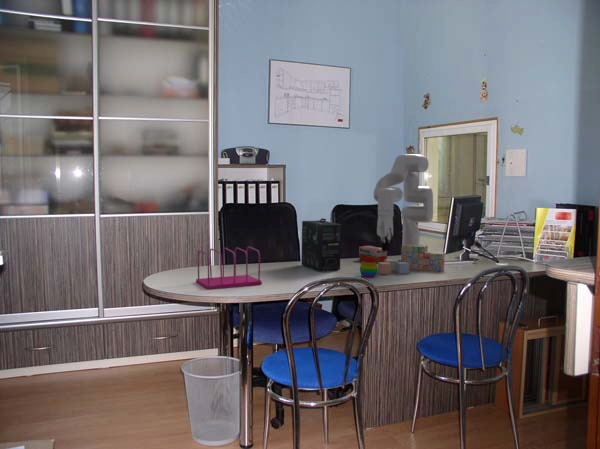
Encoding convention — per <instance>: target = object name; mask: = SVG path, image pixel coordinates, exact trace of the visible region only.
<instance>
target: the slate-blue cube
mask: <svg viewBox="0 0 600 449" xmlns="http://www.w3.org/2000/svg"><path fill="white" fill-rule="evenodd" d="M395 272H396V273H399V274H398V275H409V274H408V273H410V268H409V263H407V262H401V261H398V262H396V268H395Z"/></svg>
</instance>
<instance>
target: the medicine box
mask: <svg viewBox="0 0 600 449" xmlns="http://www.w3.org/2000/svg"><path fill="white" fill-rule="evenodd" d="M358 252H359V253H358V259H359V261H361V262H362V261H363V260H364V259H365V258H366V257H372V258H373V259H374V260H375V262H376V264H378V262H385V260H386V259H388V251H382V247H378V246H377V247H376V246H373V245H363V246H359V250H358Z"/></svg>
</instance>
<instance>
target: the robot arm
mask: <svg viewBox="0 0 600 449" xmlns="http://www.w3.org/2000/svg"><path fill="white" fill-rule="evenodd" d="M429 164H430V163H429V159H428V157H427V156H424V155H422V154H415V153H414V154H413V153H411V154H410V153H409V154H408V153H406V154H399V155H398V156H396V157H395V159H394V162H393V165H392V167H391V170H390V172H388V173H386V174H385V175H384V176H382V177H381V178H379V179H378V180H377V182H376V185H375V187H374V190H373V199H374V201H376V202H377V223H376V224H377V226H376V235H377V236H378V237H379V238H380V240H381V248H382V251H387V252H388V251H389V250H390V242H391V240H392V237H393V236H394V218H393V217H394V213H395V212H394V206H395V205H394V203H398V202H400V201H402V199H404V201H405V203H408V204H409V205H405V206H403V207H402V209H401V220H402V245H405V244H407V245H420V239H421V238H420V236H421V235H420V232H421V231H420V228H419V226H418V225H417V223H423V224H425V223H426V224H428V223H431V222H432V221H433V217H434V193H433V189H432V188H431V187H430V186H426V185H425V186H421V185H420V177H419V175H418V173H425V172H427V170H428V169H429ZM402 183H403V190H402V189H401V188H400V187H398V186H397V185H399V184H402ZM412 204H415V205H412ZM416 204H423V205H416ZM402 245H401V246H402ZM398 261H399V262H401V257H399V260H398Z"/></svg>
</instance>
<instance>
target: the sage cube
mask: <svg viewBox="0 0 600 449" xmlns="http://www.w3.org/2000/svg"><path fill="white" fill-rule="evenodd" d="M385 262H388V263H391V271H395V268H396V262H399V260H397V259H394V258H391V259H390V258H389V259H388V258H387V259H386V260H385Z"/></svg>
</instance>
